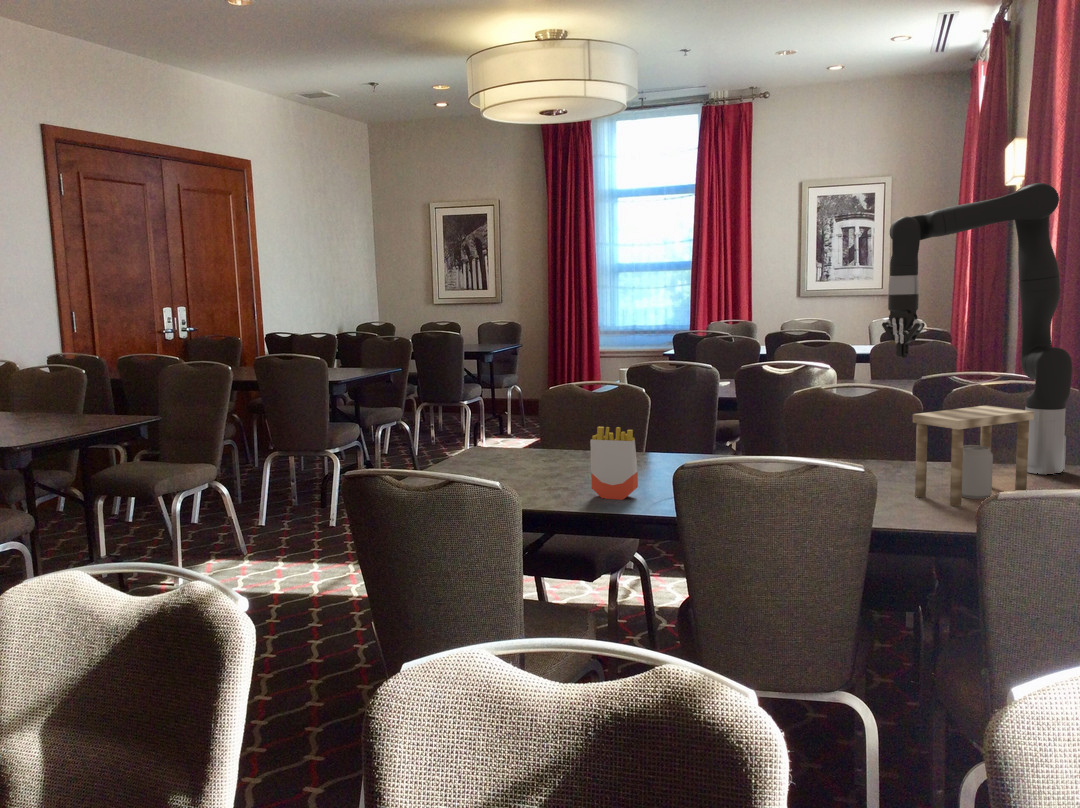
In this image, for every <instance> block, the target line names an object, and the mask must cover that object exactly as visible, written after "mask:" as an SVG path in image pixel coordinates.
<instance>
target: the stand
mask: <svg viewBox="0 0 1080 808" xmlns="http://www.w3.org/2000/svg"><path fill="white" fill-rule="evenodd" d="M1029 420H1034V411H1028V410H1025V409H1020V408H1010V407H1001V406H994V405H993V406H992V405H978V406H971V407H963V408H954V409H943V410H937V411H928V412H921V413H913V414H912V423H914V424H916V434H915V436H916V439H915V442H916V443H915V479H914V483H915V484H914V490H915V491H914V497H915V496H917V497H916V498H918V497H925V498H926V497H927V470H928V469H927V467H928V466H927V465H928V464H927V463H928V429H929V427H928V426H934V427H941V428H946V429H951V453H950V455H951V456H950V458H951V459H950V462H951V463H950V488H949V489H950V490H949V506H950V507H958V508H959V507H962V497H963V496H962V470H963V446H964V435H965V434H964V433H965V432H964V431H965V430H966V429H972V428H980V441H979V442H980V443H979V445H980V446H987V447H989V448H990V451H992V430H993V429H992V428H993V426H995V425H1003V424H1011V423H1017V431H1016V432H1017V433H1016V458H1015V479H1014V480H1015V483H1014V486H1015V487H1014V491H1015V490H1026V489H1028V488H1027V485H1028V472H1027V466H1028V441H1029ZM964 429H965V430H964Z"/></svg>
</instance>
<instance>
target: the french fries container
mask: <svg viewBox="0 0 1080 808" xmlns="http://www.w3.org/2000/svg"><path fill="white" fill-rule="evenodd" d="M596 430H597V431H596V434H595V435H592V437H591V439H590V441H589V443H590V445H589V446H590V477H591V479H590V480H591V481H590V482H591V489H592V490H593V491H594V492H595V493H596V494H597V495H598V496H599V497H600V498H601V499H603V498H605V500H624V499H625V498H627V497H628V496H629V495H631V493H633V492H634V491H635V490H637V489H638V488H639V477H638V476H639V474H638V473H639V472H638V461H637V451H636V440H635V439H636V438H635V437H633V436H634V435H633V433H634V430H633V429H627V430H626V431H621V427H619V426H617V427H615V437H614V432H610V427H609V426H606V427H605V426H597V427H596Z"/></svg>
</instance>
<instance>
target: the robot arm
mask: <svg viewBox="0 0 1080 808" xmlns="http://www.w3.org/2000/svg"><path fill="white" fill-rule="evenodd" d="M1059 201H1060V195H1059V192H1058V191H1057V189H1055V187H1054V186H1052V185H1050V184H1047V183H1044V182H1036V183H1032V184H1027V185H1025V186H1023V187H1021V188H1020V189H1018V190H1017V191H1015V192H1012V193H1010V194H1009V193H1008V194H1006V195H1003V196H999V197H996V198H991V199H986V200H981V201H975V202H970V203H969V202H968V203H963V204H957V205H952V206H948V207H943V208H940V209H935V210H933V211H930V212H928V213H924V214H917V215H913V216H912V215H911V216H902V217H900V218H898V219H896V220H895V221H894V222H893V223H892V224H891V225H890V227H889V238H890V239H891V241H892V243H891V245H892V246H891V248H892V249H891V253H892V255H891V256H890V261H889V279H888V280H889V281H888V293H887V294H888V296H887V297H888V301H887V302H888V303H887V304H888V305H887V309H888V311H889V315H888V319H887V320H886V321H883V322H882V323H881V326H882V328H883V330H884V332H885V333H886V335H887V337H888V339H889V340H890V341H891V342H895V344H896V347H895V348H896V349H895V350H896V351H895V352H896V357H897V358H907V357H908V355H909V346H910V345H909V344H910V343H911V342H915V341H916V339H917V338H918V336H919V335H920V334H921V332H922V331H923V329H924V327H925V325H926V324H925V322H921V321H919V319H918V314H917V311H918V309H919V300H920V299H919V297H920V296H919V295H920V293H919V291H920V288H919V287H920V282H919V252H920V251H919V250H920V242H921V241H923V240H926V239H930V238H938V237H944V236H949V235H954V234H957V233H964V232H966V231H970V230H973V229H978V228H980V227H981V228H982V227H984V226H985V227H986V226H988V225H993V224H998V223H1002V222H1007V221H1010V222H1011V221H1014V224H1015V229H1016V235H1017V244H1018V245H1017V247H1018V252H1017V253H1018V254H1017V262H1018V264H1017V267H1018V270H1017V271H1018V286H1019V287H1018V288H1019V298H1020V311H1021V312H1020V313H1021V314H1020V315H1021V327H1022V331H1021V333H1022V334H1021V353H1020V360H1021V361H1020V363H1021V369H1022V371H1023V374H1024V375H1025V376H1026V377H1028V378H1029V379H1030V380H1033V381H1035V382H1034V390H1033V391H1032V392H1031V394H1029V395H1027V396H1026V397H1025V405H1024V406H1025V409H1024V410H1028V411H1034V420H1029V441H1028V466H1027V473H1029V474H1030V473H1031V474H1035V475H1036V474H1037V473H1038V474H1037V475H1047V474H1048V473H1058V472H1062V471H1063V469H1066V451H1067V448H1066V447H1067V436H1066V435H1065V431H1066V429H1065V428H1066V405H1067V402H1068V399H1069V398H1070V394H1071V386H1072V378H1073V377H1072V376H1073V363H1072V358H1071V354H1070V353H1068V352H1067V350H1065V349H1063V348H1061V347H1057V346H1056V347H1055V346H1053V345H1052V343H1053V342H1052V335H1051V334H1052V331H1051V330H1052V320H1053V318H1054V315H1055V313H1056V310H1057V308H1058V304H1059V301H1060V297H1061V281H1060V270H1059V269H1060V268H1059V264H1058V261H1057V258H1056V255H1055V251H1054V248H1053V245H1052V243H1051V240H1050V239H1051V238H1050V230H1049V228H1050V226H1049V225H1050V216H1051V215H1053V213H1054V212H1055V211H1056V210H1057V207H1058V206H1059V203H1060V202H1059ZM1063 472H1064V471H1063ZM1044 473H1046V474H1044Z"/></svg>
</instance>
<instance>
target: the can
mask: <svg viewBox="0 0 1080 808" xmlns="http://www.w3.org/2000/svg"><path fill="white" fill-rule="evenodd" d="M991 451H992V450H991ZM991 451H990V448H989V447H987V446H980V444H979V445H978V444H977V445H976V444H967V445H963V470H962V497H963V498H967V499H975V500H978V499H979V500H981V499H982V498H983V499H987V498H989V497H990V496H991V495H992V492H993V489H992V488H993V466H994V463H993V462H994V454H993V452H991ZM986 497H987V498H986Z"/></svg>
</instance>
